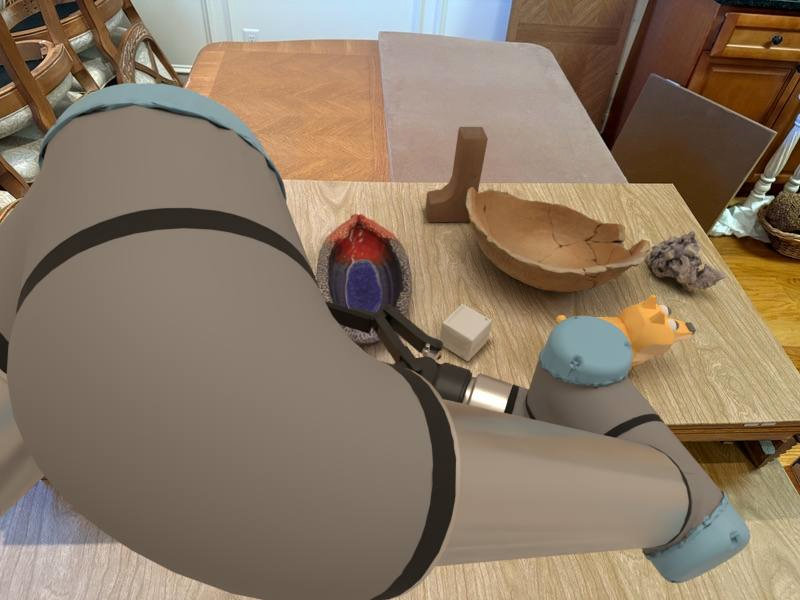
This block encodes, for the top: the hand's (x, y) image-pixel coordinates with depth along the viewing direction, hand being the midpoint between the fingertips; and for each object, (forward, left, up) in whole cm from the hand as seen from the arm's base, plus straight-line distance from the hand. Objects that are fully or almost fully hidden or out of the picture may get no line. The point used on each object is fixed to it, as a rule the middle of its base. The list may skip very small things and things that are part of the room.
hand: (298, 346), depth 66 cm
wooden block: (+46, +21, -12) cm, 52 cm away
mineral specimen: (+67, -16, -12) cm, 70 cm away
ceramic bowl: (+49, 0, -12) cm, 51 cm away
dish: (+20, +14, -12) cm, 27 cm away
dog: (+40, -21, -12) cm, 47 cm away
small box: (+25, -5, -12) cm, 28 cm away
